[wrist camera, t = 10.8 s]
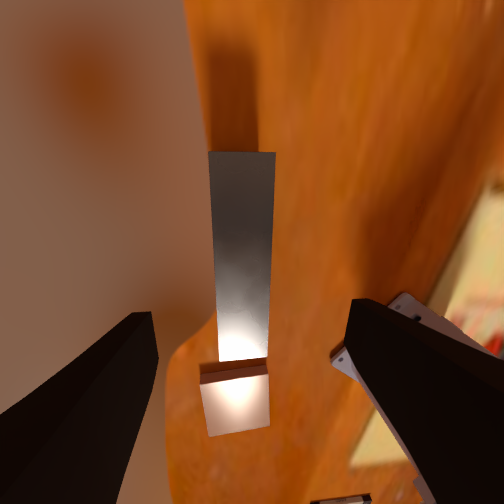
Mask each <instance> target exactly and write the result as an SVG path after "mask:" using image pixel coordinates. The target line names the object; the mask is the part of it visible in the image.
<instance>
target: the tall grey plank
mask: <svg viewBox="0 0 504 504" xmlns="http://www.w3.org/2000/svg"><path fill="white" fill-rule="evenodd" d="M208 155H209V174H210V192H211V210H212V229H213V248H214V266H215V285H216V303H217V322H218V340H219V359H220V361H230V360H240V359H251V358H261V357H267V348H268V324H269V300H270V277H271V253H272V229H273V206H274V182H275V158H276V152H217V151H208Z"/></svg>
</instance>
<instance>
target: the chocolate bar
mask: <svg viewBox="0 0 504 504" xmlns="http://www.w3.org/2000/svg"><path fill="white" fill-rule="evenodd" d="M371 502H372V499H371V497H370V495H366V496H359V497H351V498H344V499H336V500H329V501H321V502H314V503H310V504H371Z"/></svg>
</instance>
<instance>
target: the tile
mask: <svg viewBox="0 0 504 504" xmlns="http://www.w3.org/2000/svg"><path fill="white" fill-rule="evenodd" d="M200 389H201V395H202V400H203V406H204V412H205V417H206V423H207V429H208V434H209V437H211V436H217V435H222V434H228V433H233V432H239V431H244V430H249V429H255V428H260V427H266V426H270V419H269V381H268V371H267V367H266V365H261V366H254V367H247V368H240V369H233V370H226V371H219V372H213V373H206V374H201V375H200Z"/></svg>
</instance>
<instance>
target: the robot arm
mask: <svg viewBox="0 0 504 504" xmlns="http://www.w3.org/2000/svg"><path fill="white" fill-rule="evenodd" d="M343 343H344V345H345V346H344V347H343V348H342V349H341V350H340V351H339V352H338V353H337V354H336V355H335V356H334V357H333V358H332V359H331V361H330V362H331V364H332V366H334V367H335V368H337V369H338V370H340V371H342V372H343V373H345V374H346V375H348V376H350V377H351V378H353V379H354V380H356V381H358V382H359V383H360V384H361V385H362V387H363V388H364V390H365V392H366V393H367V395H368V396H369V398H370V399H371V401H372V402H373V404H374V406H375V407H376V409H377V410H378V412H379V413H380V415H381V417H382V418H383V420H384V421H385V423H386V424H387V426H388V428H389V429H390V431H391V432H392V434H393V435H394V437H395V439H396V440H397V442H398V443H399V445H400V446H401V448H402V450H403V451H404V453H405V454H406V456H407V457H408V459H409V461H410V462H411V464H412V465H413V467H414V468H415V470H416V471H417V473H418V475H419V476H418V477H417V478H416V479H414V480H413V483H414V485H415V487H416V488H417V490H418V492H419V493H420V495H421V497H422V498H423V501H421V502H420V504H504V361H503V360H501V359H499V358H498V357H496V356H495V355H494V354H492V353H491V352H490V351H488V350H487V349H486V348H484V347H483V346H481V345H480V344H479V343H477V342H476V341H474V340H473V339H471V338H470V337H469V336H467V335H466V334H464V333H463V331H462V330H460V329H459V328H458V327H457V326H456V325H454V324H453V323H452V322H450V321H449V320H447V319H446V318H444V317H443V316H441V317H440V316H439V315H437V314H436V313H434V312H433V311H431V310H430V309H429V308H427V307H426V306H424V305H423V304H421V303H420V302H419V301H417V300H416V299H414V298H413V297H412V296H411V295H410V294H409V293H407V292H405V293H402V294H401V295H399V296H398V297H397V298H396V299H395V300H394V301H393V302H392V303H391V304H390V305H389V306H388V307H387V306H384V305H382V304H380V303H378V302H375V301H373V300H370V299H368V298H365V299H352V303H351V308H350V312H349V317H348V322H347V327H346V332H345V337H344V342H343ZM158 359H159V357H158V351H157V345H156V338H155V332H154V326H153V320H152V314H151V311H150V312H134V313H131V314H130V315H128V316H127V317H126V318H125V319H123V320H122V321H121V322H119V323H118V324H117V325H116V326H115V327H113V328H112V329H111V330H110V331H109V332H107V333H106V334H105V335H104V336H103V337H101V338H100V339H99V340H98V341H97V342H95V343H94V344H93V345H92V346H90V347H89V348H88V349H87V350H86V351H84V352H83V353H82V354H81V355H79V357H77V358H76V359H74V360H73V361H72V362H71V363H69V364H68V365H67V366H65V367H64V368H63V369H62V370H60V371H59V372H57V373H56V374H55V375H54V376H52V377H51V378H50V379H48V380H47V381H46V382H44V383H43V384H42V385H40V386H39V387H38V388H36V389H35V390H34V391H33V392H31V393H30V394H28V395H27V396H26V397H25V398H23V399H22V400H20V401H19V402H17V403H16V404H14V405H13V406H12V407H10V408H9V409H7V410H6V411H5V412H3V413H2V414H0V504H116V502H117V498H118V494H119V491H120V487H121V484H122V481H123V478H124V474H125V471H126V468H127V465H128V462H129V459H130V456H131V453H132V450H133V447H134V444H135V441H136V438H137V435H138V432H139V429H140V426H141V423H142V420H143V417H144V414H145V411H146V408H147V405H148V402H149V398H150V395H151V392H152V389H153V384H154V380H155V375H156V370H157V365H158Z"/></svg>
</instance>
